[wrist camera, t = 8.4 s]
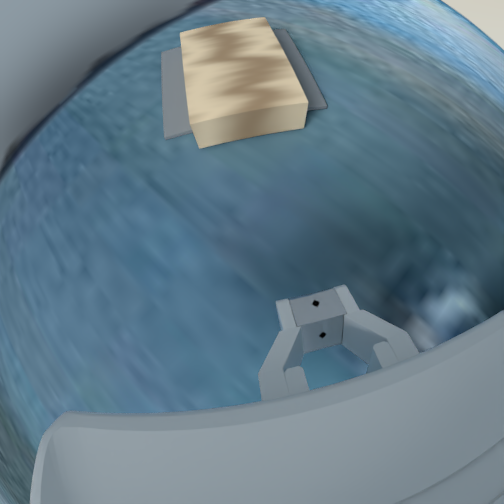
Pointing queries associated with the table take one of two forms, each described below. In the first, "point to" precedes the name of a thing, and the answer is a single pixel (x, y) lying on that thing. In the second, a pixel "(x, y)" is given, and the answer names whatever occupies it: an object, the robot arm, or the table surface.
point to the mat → (176, 91)
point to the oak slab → (239, 83)
